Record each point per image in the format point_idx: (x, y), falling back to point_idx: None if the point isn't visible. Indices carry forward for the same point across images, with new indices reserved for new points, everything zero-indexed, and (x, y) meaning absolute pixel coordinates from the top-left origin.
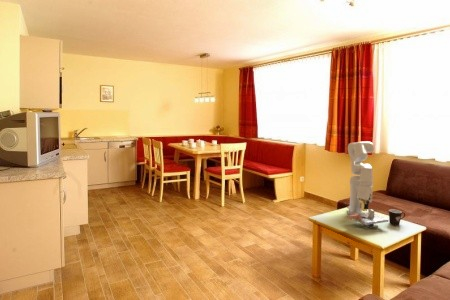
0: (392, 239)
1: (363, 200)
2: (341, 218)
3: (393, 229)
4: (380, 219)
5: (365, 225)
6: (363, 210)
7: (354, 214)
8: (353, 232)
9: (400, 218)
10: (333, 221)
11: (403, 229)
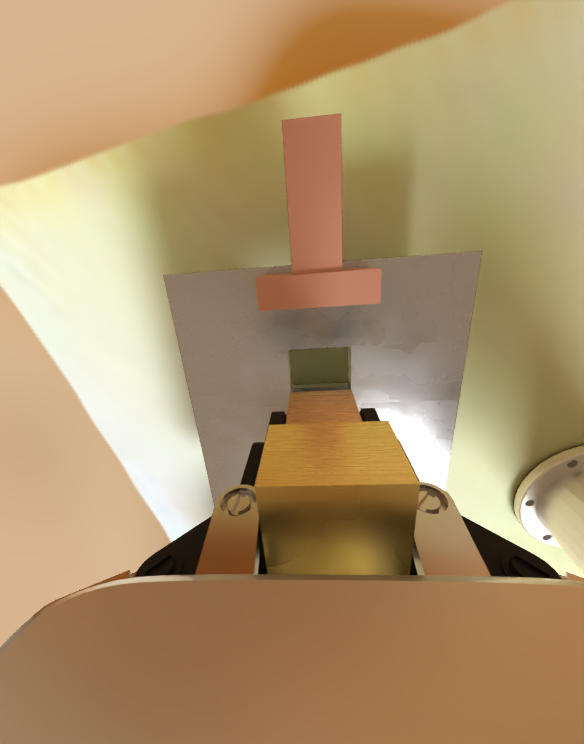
0: (70, 374)
1: (274, 541)
2: (566, 304)
3: None
4: (235, 483)
5: (332, 383)
6: (297, 396)
7: (359, 270)
8: (225, 161)
9: None
10: (554, 150)
11: None
